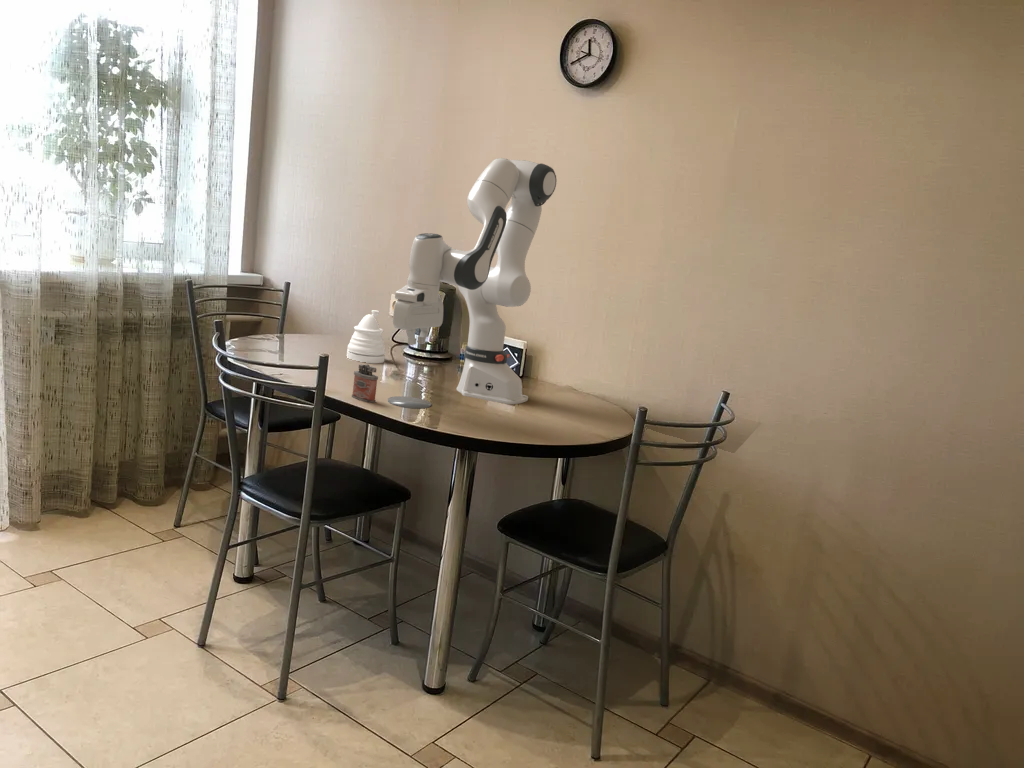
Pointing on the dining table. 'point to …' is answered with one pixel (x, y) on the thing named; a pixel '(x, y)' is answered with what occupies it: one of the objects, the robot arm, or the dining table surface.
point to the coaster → (409, 402)
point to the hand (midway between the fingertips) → (416, 343)
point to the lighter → (365, 384)
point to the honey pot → (367, 341)
